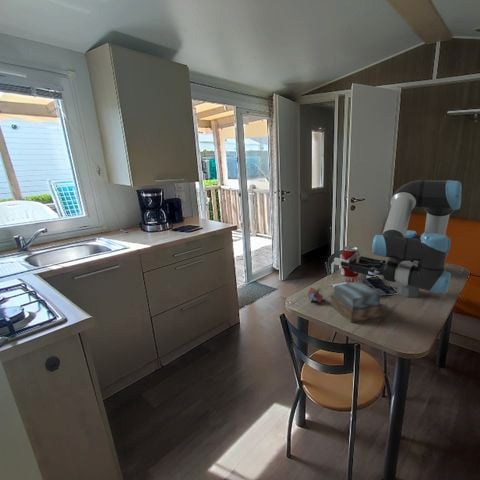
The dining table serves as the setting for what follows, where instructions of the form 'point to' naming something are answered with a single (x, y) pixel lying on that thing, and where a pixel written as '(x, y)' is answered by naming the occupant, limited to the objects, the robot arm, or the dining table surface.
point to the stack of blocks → (356, 278)
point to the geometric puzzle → (315, 295)
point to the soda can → (354, 256)
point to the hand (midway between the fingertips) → (337, 259)
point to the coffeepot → (408, 290)
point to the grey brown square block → (356, 301)
